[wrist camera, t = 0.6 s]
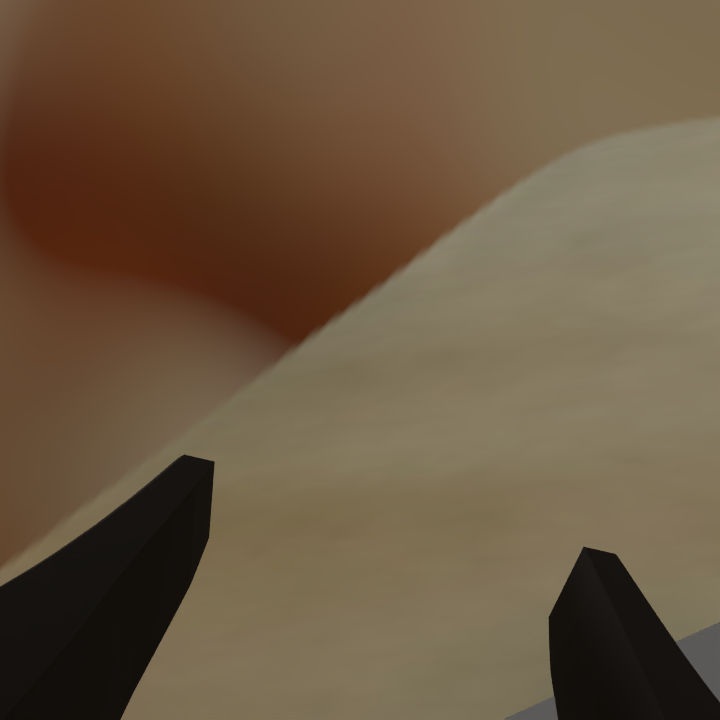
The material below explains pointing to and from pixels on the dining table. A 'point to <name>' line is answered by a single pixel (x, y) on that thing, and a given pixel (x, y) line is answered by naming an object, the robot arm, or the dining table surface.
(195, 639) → the dining table surface
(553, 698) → the camera body
